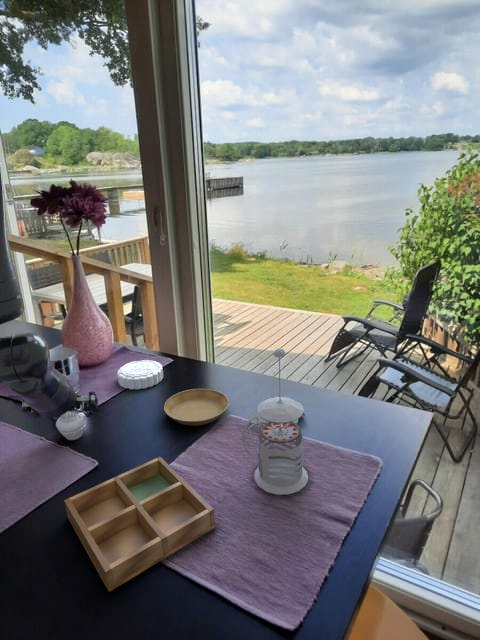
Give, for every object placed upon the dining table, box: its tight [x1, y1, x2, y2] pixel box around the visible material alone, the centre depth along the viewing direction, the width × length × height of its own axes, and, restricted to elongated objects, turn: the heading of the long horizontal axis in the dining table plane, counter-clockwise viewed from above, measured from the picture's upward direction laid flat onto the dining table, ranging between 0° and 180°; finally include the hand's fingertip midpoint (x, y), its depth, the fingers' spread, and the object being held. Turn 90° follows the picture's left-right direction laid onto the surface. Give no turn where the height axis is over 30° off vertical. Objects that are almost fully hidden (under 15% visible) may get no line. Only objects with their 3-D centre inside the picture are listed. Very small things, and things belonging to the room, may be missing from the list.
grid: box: [63, 456, 216, 593], centre depth 70 cm, size 17×17×4 cm
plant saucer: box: [163, 388, 230, 427], centre depth 101 cm, size 15×15×3 cm
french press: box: [241, 347, 309, 496], centre depth 76 cm, size 10×12×25 cm
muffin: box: [55, 408, 88, 441], centre depth 94 cm, size 6×6×7 cm
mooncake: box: [116, 359, 164, 391], centre depth 119 cm, size 12×12×4 cm
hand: (72, 414), depth 95 cm, fingers open, 6 cm apart
